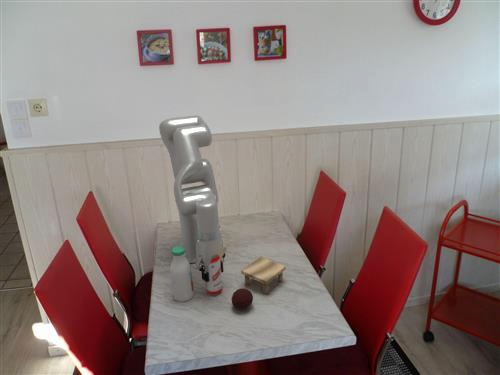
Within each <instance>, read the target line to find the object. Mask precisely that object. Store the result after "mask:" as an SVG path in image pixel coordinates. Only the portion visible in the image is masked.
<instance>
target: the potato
mask: <svg viewBox="0 0 500 375" xmlns="http://www.w3.org/2000/svg"><path fill="white" fill-rule="evenodd" d="M253 300H254V296H253V293H252V291H251V290H250V289H248V288H241V287H240V288H238V289H236V290H235V291H234V292H233V294H232V296H231V304H232V306H233V307H234V308H235V309H237V310H246V309H248V308H249V307H250V306H251V305H252V303H253Z"/></svg>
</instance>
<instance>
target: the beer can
mask: <svg viewBox="0 0 500 375" xmlns="http://www.w3.org/2000/svg"><path fill="white" fill-rule="evenodd" d="M203 269H205V266H204V267H203ZM207 272H208V273H209V282H206V281H204V284H205V291H206V293H207V294H208V295H209V296H218V295H219V294H221V293H222V291H223V279H222V278H223V277H222V276H223V275H222V272H221V263H220V257H219V256H218V255H217V256H216V257H214V258H212V260H211V262H210V265H209V266H208V270H207Z"/></svg>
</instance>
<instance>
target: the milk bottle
mask: <svg viewBox="0 0 500 375" xmlns="http://www.w3.org/2000/svg"><path fill="white" fill-rule="evenodd" d="M171 256H172V259H171V264H170V268H169V275H170V282H171V292H172V297H173V299H174V300H175V301H177V302H181V303H182V302H188V301H190V300H191V299H192V298H193V297H194V296H195V290H194V279H193V271H192V266H191V265H190V264H191V263H189V262H188V260H187V259H186V257H185V249H184V247H182V246H179V245H177V246H174V247H172V249H171Z"/></svg>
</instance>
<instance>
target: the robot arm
mask: <svg viewBox="0 0 500 375" xmlns="http://www.w3.org/2000/svg"><path fill="white" fill-rule="evenodd" d="M158 127H159V128H158V130H159V135H160V138H161V140H162V142H163V144H164V147H166V149H167V151H168V154H169V158H170V162H171V167H172V173H173V176H174V183H173V194H174V195H173V196H174V199H175V200H174V201H175V204H176V207H177V212H178V216H179V223H180V232H181V242H180V244H179V245H178V246H182V247H184V249H185V257H186V259H187V260H188V262H189V264H194V266H193V267H194V269H196V270H197V271H199V272H201V280H202V281H204V282H205V281H206V282H209V273H208V272H207V270H208V266H209V265H210V262H211V260H212V258H214V257H216V256H217V255H218V256H219V257H220V263H221V273H224V262H225V256H226V253H227V252H228V248H227V247H225V246H224V243H223V237H222V235H221V233H220V229H221V226H220V220H219V211H218V208H219V206H218V203H219V192H218V188H217V183H216V178H215V174H214V169H213V166H212V164H211V162H210V160H208V159H207V158H202V155H201V151H200V148H205V147H209V146H211V145H212V141H213V136H212V132H211V129H210V128H209V126H208V124H207V122H205V121H204V119H203V117H201V116H200V115H188V116H180V117H178V116H177V117H171V118H168V119H164V120H162V121H161V122H160V123H159V126H158ZM196 183H202V184H201V185H195V186H194V185H193V186H190V187H184V188H182V186H184V185H185V186H186V185H190V184H191V185H192V184H196ZM204 266H205V269H204Z"/></svg>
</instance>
